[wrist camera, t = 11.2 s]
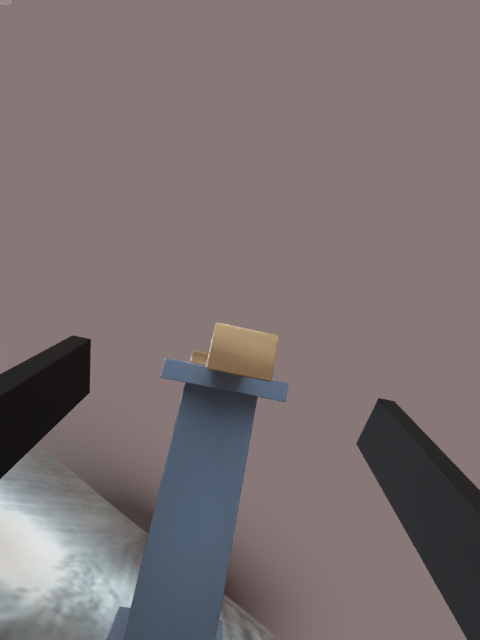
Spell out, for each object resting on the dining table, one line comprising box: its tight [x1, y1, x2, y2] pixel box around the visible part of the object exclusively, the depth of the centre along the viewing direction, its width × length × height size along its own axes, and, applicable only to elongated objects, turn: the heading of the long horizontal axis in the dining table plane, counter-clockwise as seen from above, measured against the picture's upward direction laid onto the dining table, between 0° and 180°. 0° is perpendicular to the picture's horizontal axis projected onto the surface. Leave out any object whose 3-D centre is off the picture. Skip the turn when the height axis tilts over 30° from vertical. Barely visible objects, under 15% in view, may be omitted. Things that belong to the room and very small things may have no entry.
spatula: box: [190, 323, 278, 382], centre depth 20 cm, size 22×7×2 cm, turn 6°
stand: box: [106, 358, 288, 640], centre depth 22 cm, size 15×12×30 cm
